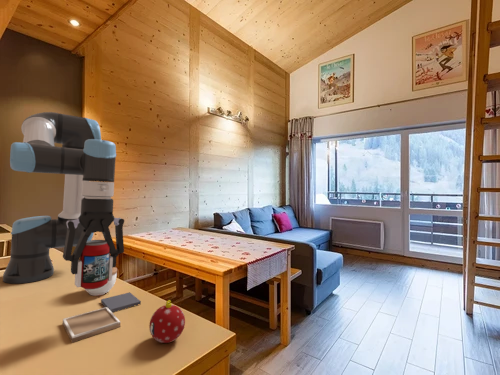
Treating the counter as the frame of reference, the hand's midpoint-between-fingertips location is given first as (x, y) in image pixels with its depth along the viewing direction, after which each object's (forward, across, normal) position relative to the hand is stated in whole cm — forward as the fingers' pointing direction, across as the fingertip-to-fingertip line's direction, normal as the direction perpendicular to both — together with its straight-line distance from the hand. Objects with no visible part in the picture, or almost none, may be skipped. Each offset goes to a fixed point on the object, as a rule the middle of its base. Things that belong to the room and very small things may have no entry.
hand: (93, 282), depth 71 cm
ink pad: (+12, +10, +9) cm, 18 cm away
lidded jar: (+12, +8, +22) cm, 26 cm away
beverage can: (+1, 0, 0) cm, 1 cm away
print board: (+12, 0, 0) cm, 12 cm away
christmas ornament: (+12, +12, -19) cm, 25 cm away
